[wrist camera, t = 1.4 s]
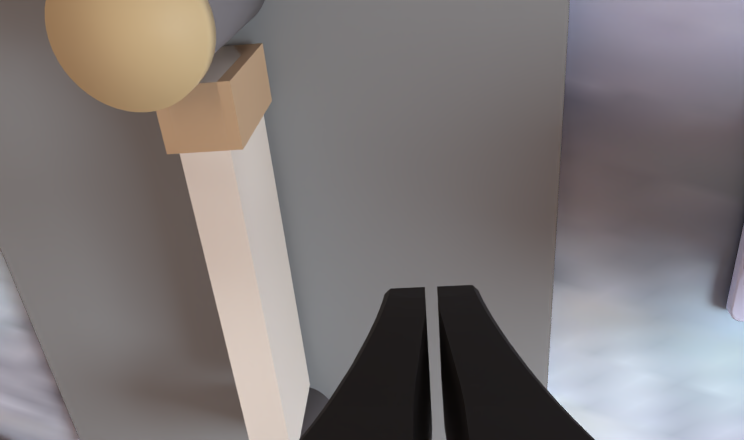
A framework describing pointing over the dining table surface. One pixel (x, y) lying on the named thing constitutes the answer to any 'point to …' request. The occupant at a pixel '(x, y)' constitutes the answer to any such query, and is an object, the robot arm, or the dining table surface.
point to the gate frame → (293, 183)
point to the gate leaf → (243, 235)
